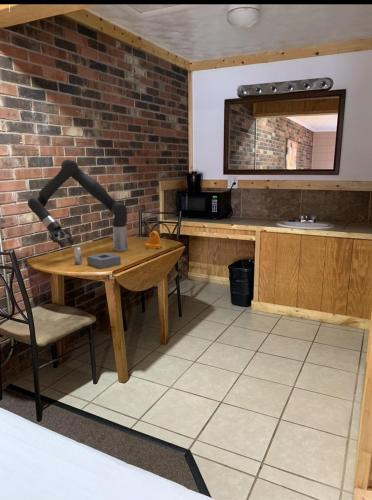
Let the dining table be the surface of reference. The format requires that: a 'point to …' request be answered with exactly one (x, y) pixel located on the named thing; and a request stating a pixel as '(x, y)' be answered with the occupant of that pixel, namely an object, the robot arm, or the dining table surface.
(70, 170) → the robot arm
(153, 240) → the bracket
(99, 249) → the dining table surface
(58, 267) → the dining table surface
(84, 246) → the dining table surface
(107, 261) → the socket block
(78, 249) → the steel pin
